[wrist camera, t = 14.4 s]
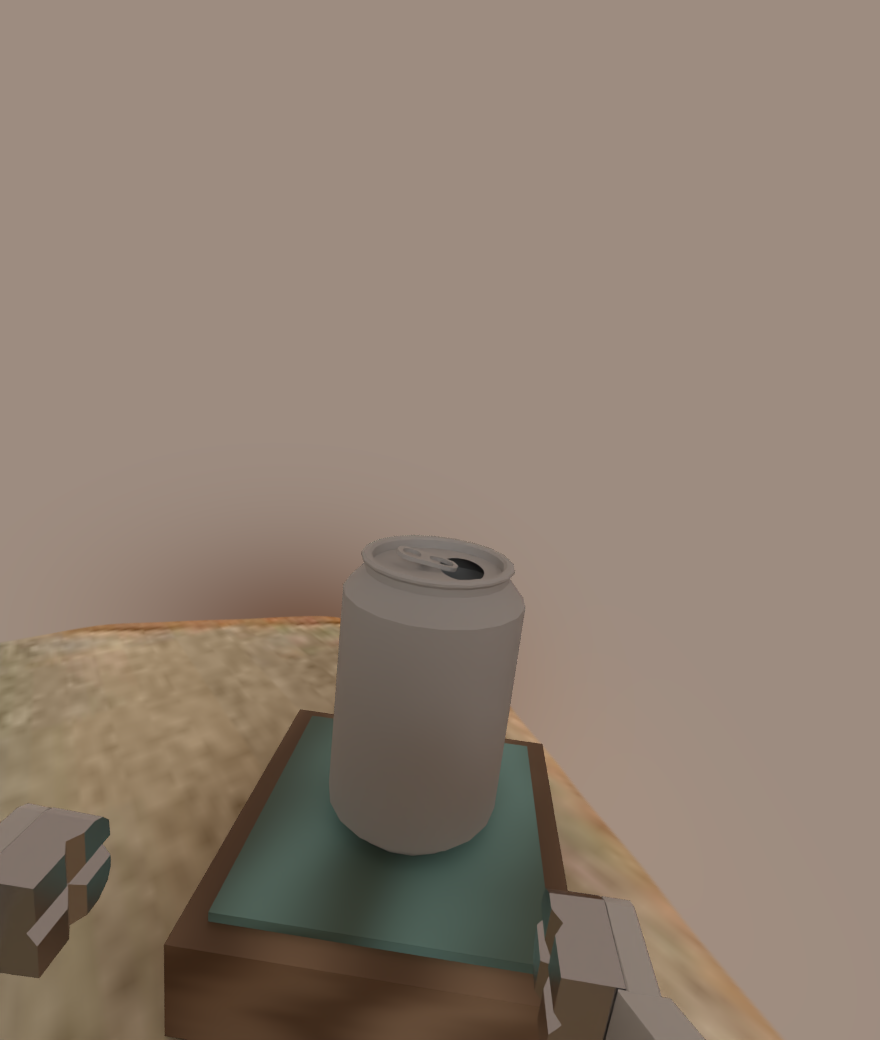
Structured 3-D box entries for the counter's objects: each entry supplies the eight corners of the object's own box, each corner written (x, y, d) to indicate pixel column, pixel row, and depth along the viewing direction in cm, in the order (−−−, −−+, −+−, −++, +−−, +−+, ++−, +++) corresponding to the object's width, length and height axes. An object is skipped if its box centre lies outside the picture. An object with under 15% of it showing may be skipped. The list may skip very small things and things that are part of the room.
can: (507, 875, 22) (554, 591, 19) (315, 870, 21) (336, 575, 18) (479, 753, 29) (510, 535, 26) (336, 746, 28) (353, 521, 26)
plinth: (164, 1035, 19) (164, 935, 18) (296, 769, 33) (300, 703, 32) (568, 1105, 18) (591, 1005, 17) (531, 803, 32) (543, 737, 31)
